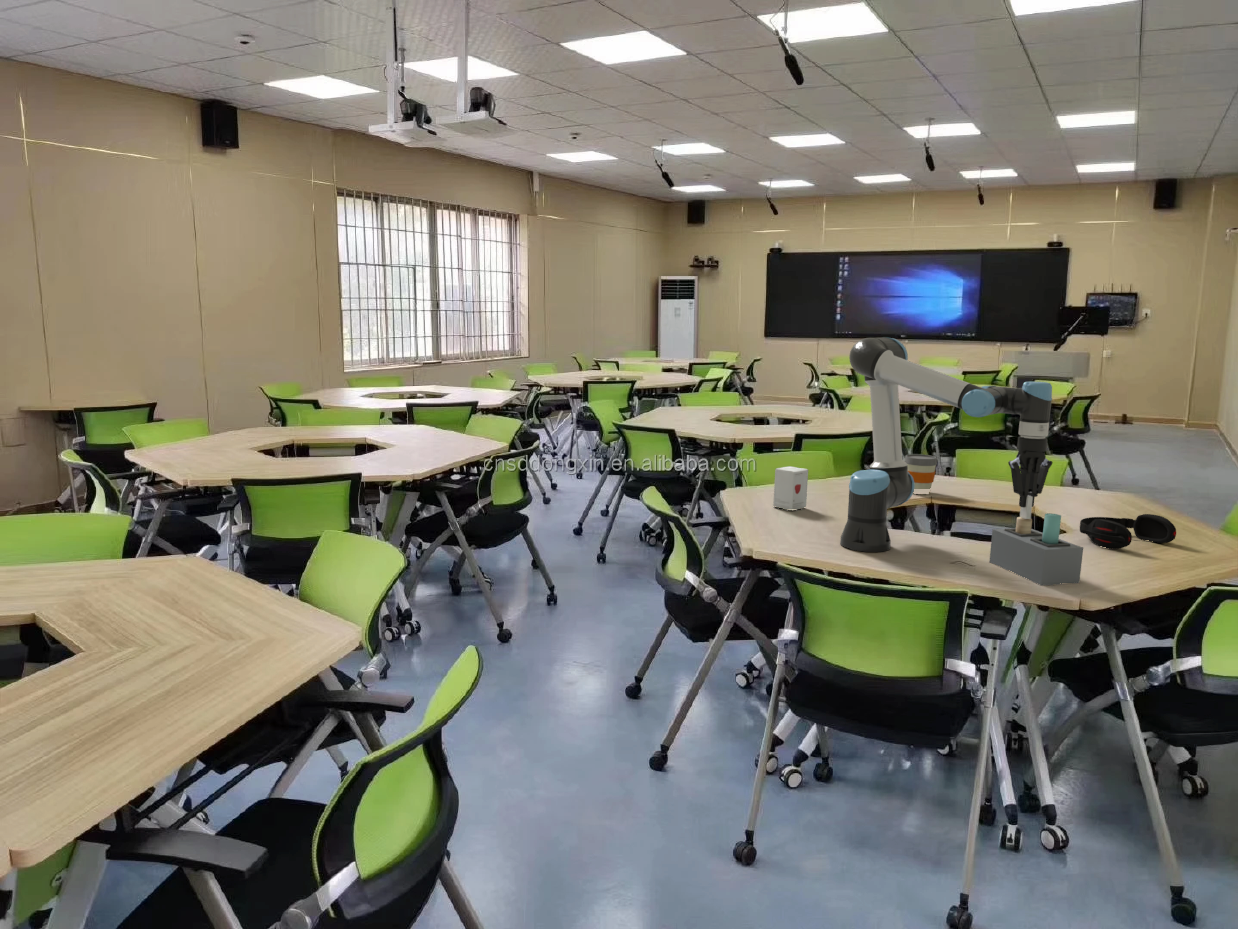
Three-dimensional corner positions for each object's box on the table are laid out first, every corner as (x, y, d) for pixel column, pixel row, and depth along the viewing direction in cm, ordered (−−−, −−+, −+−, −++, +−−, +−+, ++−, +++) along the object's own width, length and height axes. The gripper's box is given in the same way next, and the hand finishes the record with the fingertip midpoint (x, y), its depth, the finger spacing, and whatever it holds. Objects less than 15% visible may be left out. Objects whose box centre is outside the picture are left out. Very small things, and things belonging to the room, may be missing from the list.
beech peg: (1010, 549, 247) (1013, 517, 245) (1022, 548, 248) (1025, 516, 246) (1019, 552, 243) (1023, 520, 241) (1032, 552, 244) (1035, 520, 242)
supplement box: (791, 512, 310) (794, 471, 307) (772, 507, 316) (774, 468, 314) (807, 508, 316) (809, 469, 313) (787, 504, 322) (789, 465, 320)
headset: (1162, 561, 254) (1166, 533, 253) (1067, 544, 271) (1070, 518, 270) (1178, 543, 275) (1182, 517, 274) (1088, 528, 292) (1091, 504, 291)
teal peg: (1038, 546, 236) (1041, 513, 234) (1050, 546, 236) (1054, 513, 235) (1048, 550, 232) (1051, 517, 230) (1060, 550, 233) (1064, 516, 231)
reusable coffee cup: (896, 489, 353) (899, 454, 350) (925, 489, 354) (928, 454, 351) (910, 496, 340) (913, 459, 338) (940, 495, 342) (943, 459, 339)
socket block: (989, 562, 250) (992, 527, 248) (1024, 560, 253) (1028, 525, 251) (1041, 585, 229) (1045, 547, 227) (1079, 583, 232) (1083, 545, 230)
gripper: (1021, 439, 234) (1013, 522, 238) (1062, 438, 237) (1054, 520, 241) (1004, 435, 242) (996, 515, 246) (1043, 434, 244) (1035, 514, 248)
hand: (1025, 517), depth 243 cm, fingers closed
